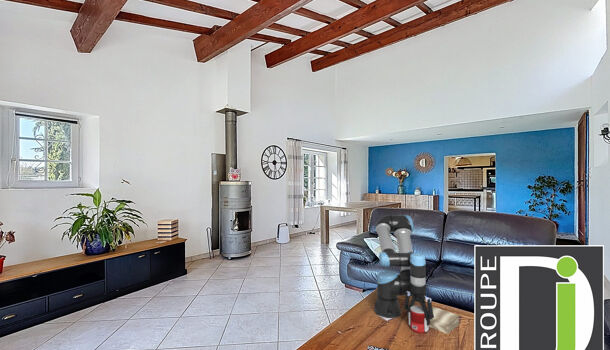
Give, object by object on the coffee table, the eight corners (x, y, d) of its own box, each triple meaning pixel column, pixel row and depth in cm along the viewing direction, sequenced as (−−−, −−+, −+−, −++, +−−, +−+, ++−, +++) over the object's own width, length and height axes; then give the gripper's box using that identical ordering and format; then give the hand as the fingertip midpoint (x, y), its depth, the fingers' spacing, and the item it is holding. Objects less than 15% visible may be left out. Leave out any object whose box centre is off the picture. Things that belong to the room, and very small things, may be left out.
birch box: (421, 323, 155) (421, 314, 155) (433, 315, 164) (433, 306, 164) (447, 334, 144) (447, 324, 144) (458, 324, 153) (458, 315, 153)
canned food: (428, 334, 144) (428, 312, 144) (411, 332, 146) (411, 311, 146) (425, 326, 152) (424, 306, 152) (409, 325, 153) (409, 304, 153)
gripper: (396, 280, 154) (396, 322, 154) (434, 291, 139) (435, 338, 138) (403, 277, 159) (404, 317, 159) (441, 287, 143) (441, 332, 143)
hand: (418, 327), depth 149 cm, fingers closed on canned food, 8 cm apart
